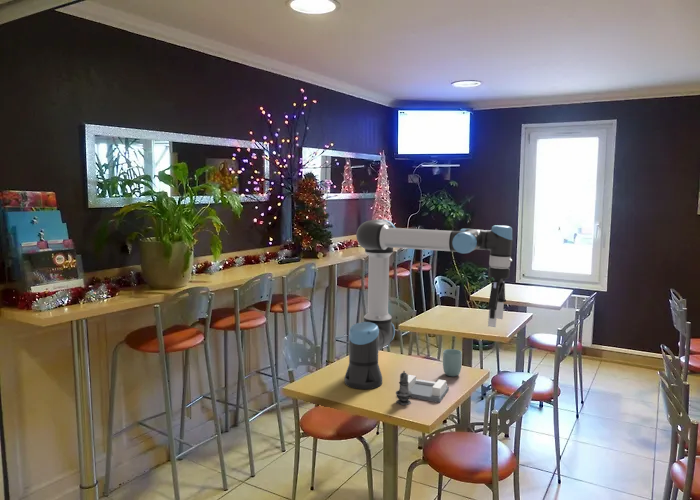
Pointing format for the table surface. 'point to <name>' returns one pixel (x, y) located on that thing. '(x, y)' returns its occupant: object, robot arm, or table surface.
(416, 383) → the rail board
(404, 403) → the salt shaker
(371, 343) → the robot arm
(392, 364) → the table surface
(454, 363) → the cup
